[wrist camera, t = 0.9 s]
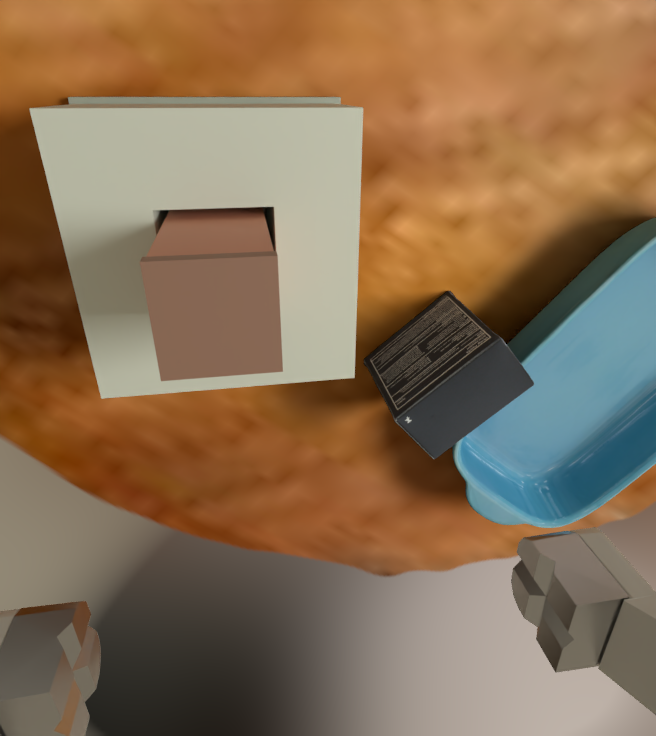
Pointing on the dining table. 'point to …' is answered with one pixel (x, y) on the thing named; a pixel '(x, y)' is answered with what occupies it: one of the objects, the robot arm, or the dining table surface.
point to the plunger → (214, 294)
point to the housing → (207, 191)
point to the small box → (445, 374)
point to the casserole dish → (575, 398)
